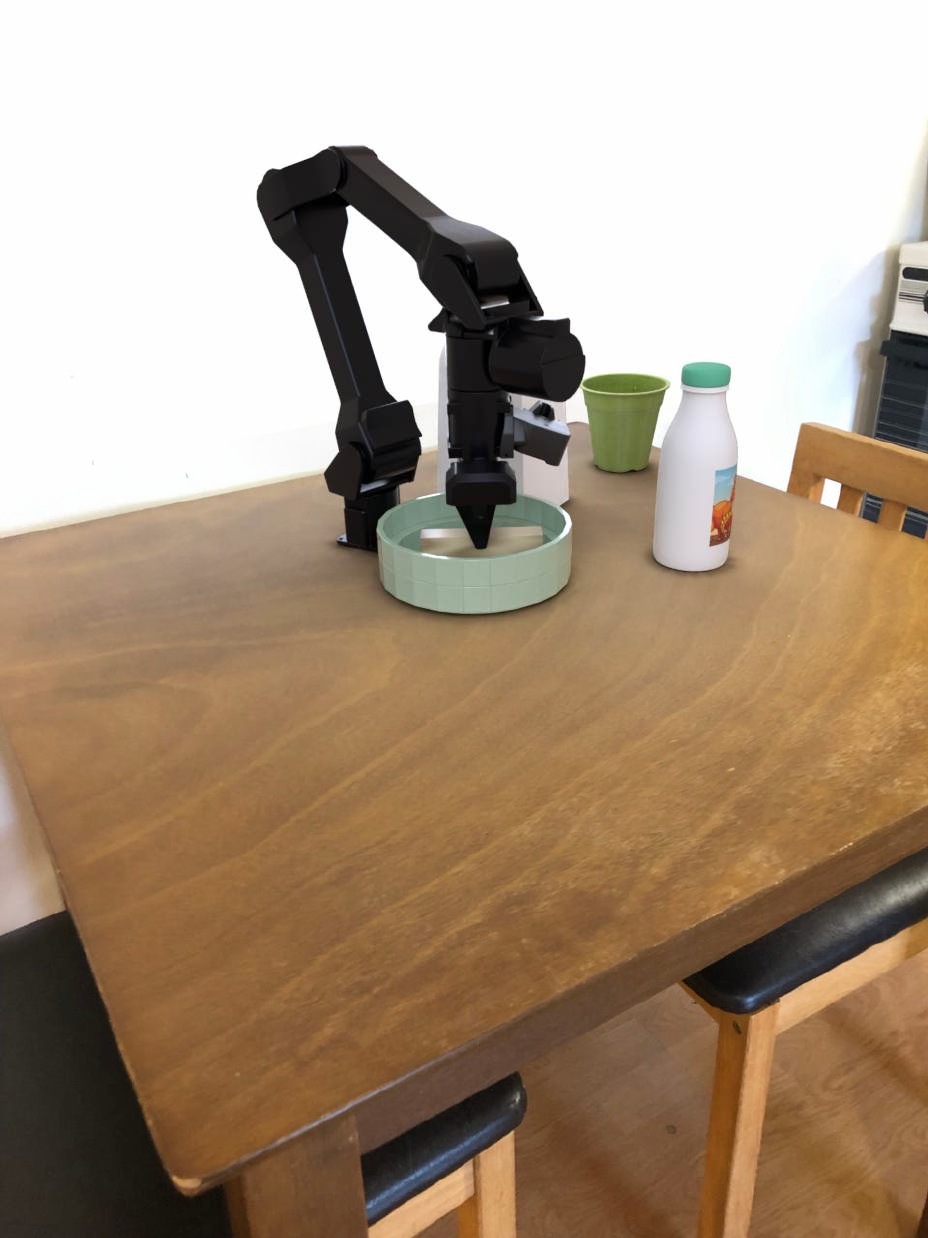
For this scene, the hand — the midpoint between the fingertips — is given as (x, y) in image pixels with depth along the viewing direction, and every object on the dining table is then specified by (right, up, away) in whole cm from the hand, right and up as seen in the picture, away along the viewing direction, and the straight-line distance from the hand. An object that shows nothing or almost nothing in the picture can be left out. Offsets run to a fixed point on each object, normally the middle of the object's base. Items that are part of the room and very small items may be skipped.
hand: (480, 543), depth 93 cm
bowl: (-1, -3, +3) cm, 4 cm away
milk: (+3, +6, +21) cm, 22 cm away
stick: (0, -1, +1) cm, 1 cm away
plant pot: (+20, +13, +34) cm, 42 cm away
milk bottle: (+22, -1, +6) cm, 23 cm away
